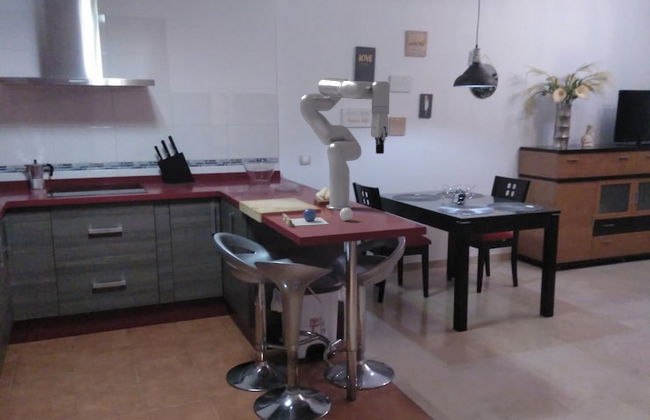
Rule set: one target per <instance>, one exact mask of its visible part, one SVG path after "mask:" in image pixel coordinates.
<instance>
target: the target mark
mask: <svg viewBox="0 0 650 420" xmlns="http://www.w3.org/2000/svg"><path fill="white" fill-rule="evenodd" d="M290 219H291V220H292V225H293V226H294V227H301V226H302V227H303V226H321V225H330V222H329V223H328V221H327V220H325V219H324V218H322V217H316V218H315V220H313V221H310V222H309V221H306V220H305V219H304V217H303V218H290Z"/></svg>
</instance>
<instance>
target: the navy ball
mask: <svg viewBox="0 0 650 420" xmlns="http://www.w3.org/2000/svg"><path fill="white" fill-rule="evenodd" d="M302 217H303V218H304V219H305V220H306V221H309V222H310V221H313V220H315V218H317V211H315V209H314V208H310V207H309V208H306V209H305V210H304V211H303V213H302Z"/></svg>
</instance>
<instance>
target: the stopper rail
mask: <svg viewBox="0 0 650 420" xmlns="http://www.w3.org/2000/svg"><path fill="white" fill-rule="evenodd" d="M291 219H292V218H290V217H289V216H288V215H287V214H286V213H282V220H283V222H284V223H286V225H287V226H288V227H290V228H292V227H293V223H292V220H291Z"/></svg>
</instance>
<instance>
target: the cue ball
mask: <svg viewBox="0 0 650 420" xmlns="http://www.w3.org/2000/svg"><path fill="white" fill-rule="evenodd" d="M339 217H340V218H341V220H342V221H344V222H347V221H348V222H349V221H350V220H352V219H353V217H354V211H353V210H352V208H351V209H350V208H343V209H342V210H339Z"/></svg>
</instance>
